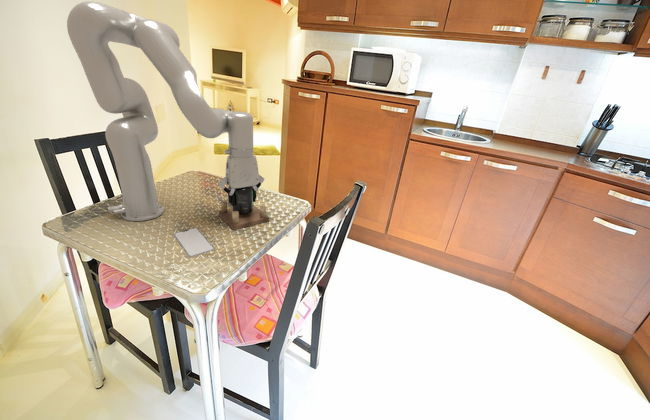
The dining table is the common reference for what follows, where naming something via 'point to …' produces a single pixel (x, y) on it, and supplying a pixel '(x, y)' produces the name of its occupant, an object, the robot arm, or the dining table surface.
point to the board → (243, 216)
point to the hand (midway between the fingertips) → (242, 202)
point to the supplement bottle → (243, 200)
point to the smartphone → (193, 242)
